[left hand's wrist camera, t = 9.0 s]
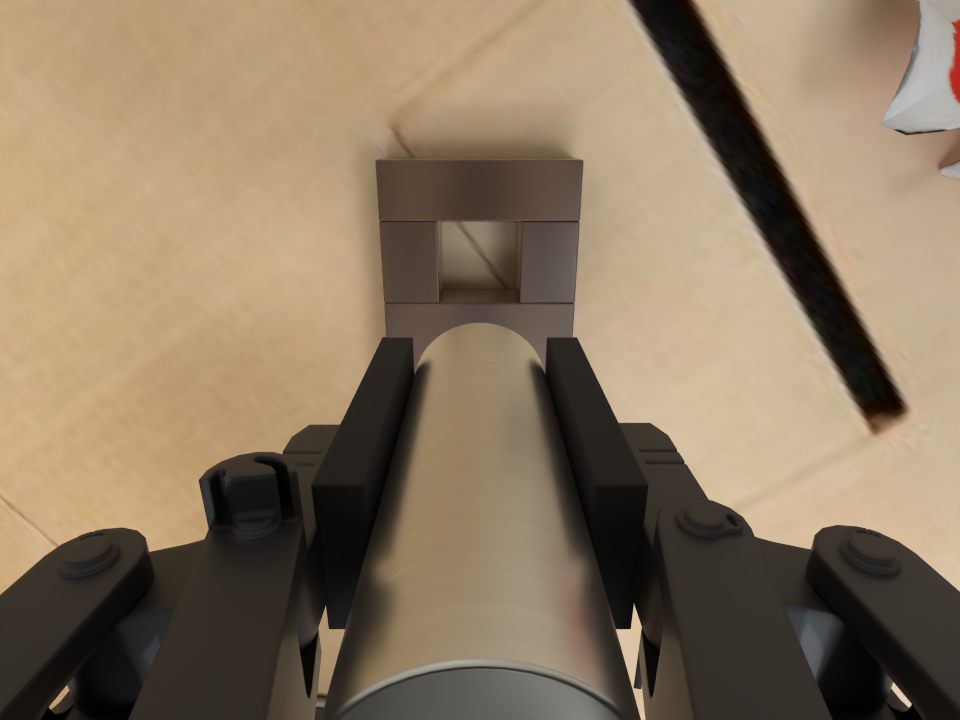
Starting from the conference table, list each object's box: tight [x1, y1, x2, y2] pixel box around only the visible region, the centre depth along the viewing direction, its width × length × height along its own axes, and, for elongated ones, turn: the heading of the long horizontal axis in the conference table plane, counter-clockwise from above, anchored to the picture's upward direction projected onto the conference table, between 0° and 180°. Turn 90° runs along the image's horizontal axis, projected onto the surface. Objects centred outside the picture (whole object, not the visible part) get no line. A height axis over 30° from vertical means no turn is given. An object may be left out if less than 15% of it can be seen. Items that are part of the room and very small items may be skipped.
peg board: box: [376, 158, 583, 374], centre depth 30 cm, size 10×24×9 cm, turn 0°
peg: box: [321, 323, 641, 720], centre depth 10 cm, size 3×3×10 cm
